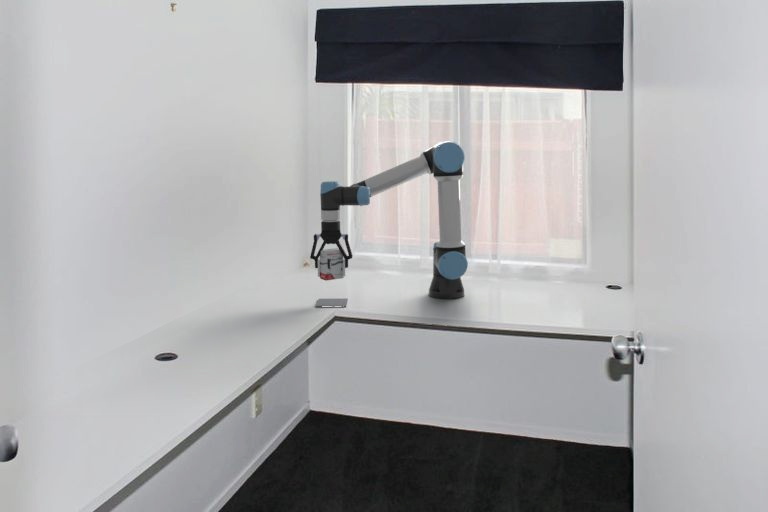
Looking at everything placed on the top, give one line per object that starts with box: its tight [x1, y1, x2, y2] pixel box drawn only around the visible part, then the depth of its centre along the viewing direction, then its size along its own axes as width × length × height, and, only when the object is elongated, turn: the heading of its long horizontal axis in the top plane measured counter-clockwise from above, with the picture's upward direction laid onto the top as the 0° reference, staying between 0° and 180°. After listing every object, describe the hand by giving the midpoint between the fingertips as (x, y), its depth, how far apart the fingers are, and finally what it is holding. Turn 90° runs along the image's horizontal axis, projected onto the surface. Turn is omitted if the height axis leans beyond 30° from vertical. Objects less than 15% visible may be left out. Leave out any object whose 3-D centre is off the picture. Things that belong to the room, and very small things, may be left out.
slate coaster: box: [315, 298, 349, 308], centre depth 249 cm, size 12×12×1 cm
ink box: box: [319, 247, 345, 282], centre depth 246 cm, size 8×5×12 cm, turn 123°
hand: (331, 275), depth 247 cm, fingers closed on ink box, 9 cm apart
